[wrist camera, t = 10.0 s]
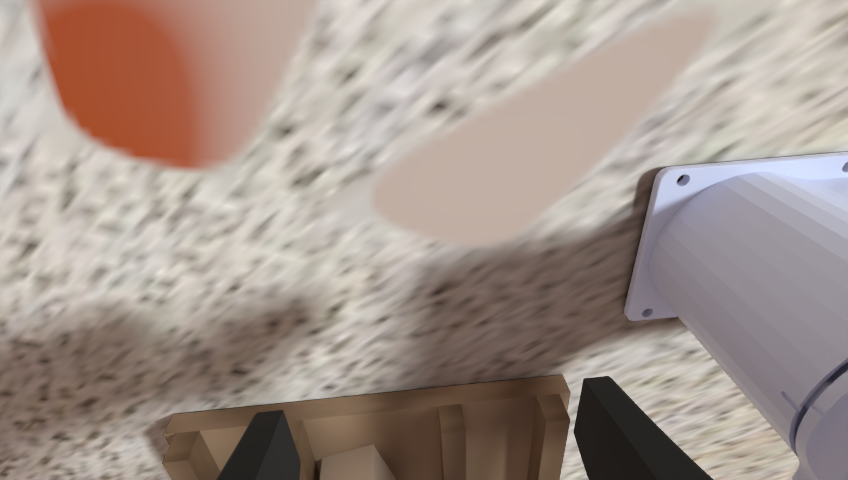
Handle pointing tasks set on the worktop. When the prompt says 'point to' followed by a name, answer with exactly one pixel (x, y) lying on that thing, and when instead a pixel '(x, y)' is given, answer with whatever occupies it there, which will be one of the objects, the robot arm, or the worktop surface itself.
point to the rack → (400, 432)
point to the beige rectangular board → (356, 466)
